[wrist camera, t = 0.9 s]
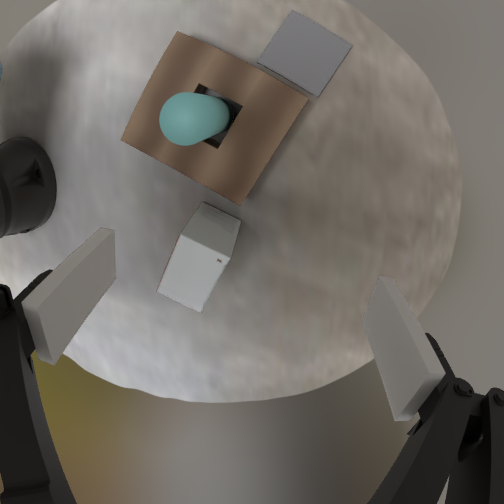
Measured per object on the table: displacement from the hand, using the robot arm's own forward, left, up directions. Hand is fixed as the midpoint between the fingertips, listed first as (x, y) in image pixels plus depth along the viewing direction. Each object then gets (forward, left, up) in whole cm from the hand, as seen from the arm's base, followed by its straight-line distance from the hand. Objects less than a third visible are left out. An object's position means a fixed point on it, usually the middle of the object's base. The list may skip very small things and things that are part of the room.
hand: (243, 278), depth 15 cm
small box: (-2, -11, -25) cm, 28 cm away
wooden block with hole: (-8, +3, -25) cm, 27 cm away
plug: (-8, +3, -25) cm, 27 cm away
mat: (-3, +15, -25) cm, 30 cm away
